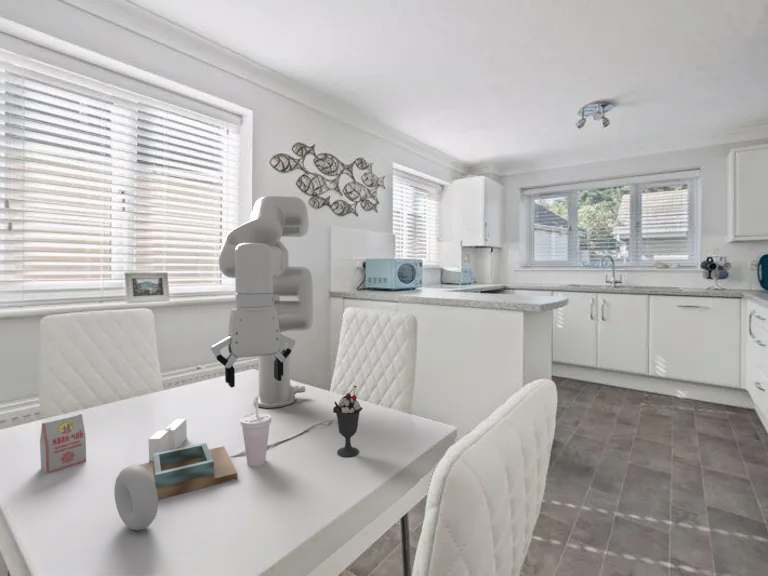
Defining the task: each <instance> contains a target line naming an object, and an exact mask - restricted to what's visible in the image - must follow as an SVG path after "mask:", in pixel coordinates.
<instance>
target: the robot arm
mask: <svg viewBox="0 0 768 576" xmlns="http://www.w3.org/2000/svg"><path fill="white" fill-rule="evenodd" d="M252 209H253V210H252V212H251V214H250V216H249V217H250V220H249V221H247V222H245V223H243V224H241V225H240V226H236V227H235V228H233V229H231V231H229V232H228V233H227V234H225V235H226V236H225V237H224V238H223V243H222V245H221V248H220V250H219V257H218V267H219V269H220V272H221V274H223V275H224V276H225V277H227V278H231V279H235V282H234V283H235V308H232V309H230V315H229V322H228V332H227V333H228V334H227V335H228V336H227V337H225V338H224V339H222V340H220V341H218V342H216V343H214V344H213V345H212V346H210V351H211V352H212V354H213V356H214V357H215V359H216V360H217V362H219V363H220V364H221V365H222V366H224V373H225V374H224V375H225V377H224V379H225V380H224V381H225V383H226V384H228V386H229V388H235V386H236V384H235V383H236V381H235V380H236V379H235V377H236V376H235V367H234V364H235V362H237V361H238V359H239V358H240V359H241V358H251V357H253V358H254V357H258V395H257V396H256V397H258V408H265V409H272V408H273V409H274V408H276V409H277V408H282V407H286V406H289V405H291V404H293V403H294V402H295V401H296V394H300V393H301V394H302V393H305V392H306V387H305V385H303V386H299V385H294V386H293V385H291V354H292V350H293V348H294V346H295V344H296V340H295V339H292V338H291V337H288V336H287V335H284V334H283V333H282V332H284V333H285V332H305V331H306V332H307V331H309V330H310V329H311V328H312V326H313V322H314V319H313V318H314V301H313V300H314V295H313V294H314V292H313V291H314V289H313V287H314V286H313V285H314V284H313V276H312V273H311V271H310V269H309V268H307V267H305V266H290V265H289V250H288V249H287V247H286V246H285V245H284V243H283V242H282V241H281V238H283V237H286V238H289V237H291V238H295V237H296V238H300V237H301V238H302V237H305V236H306V235H307V233H308V231H309V225H310V224H309V215H308V214H309V213H308V208H307V206H306V203H305V202H304V200H303V199H302V198H300V197H298V196H285V195H284V196H283V195H282V196H279V195H278V196H277V195H267V196H262V197H260V198H258V199H257V200H256V201H255V203H254V206H253V208H252ZM280 297H281V298H282V297H284V298H287V297H289V298H290V297H291V298H292V297H293V298H294V297H295V298H297V299H298V300H280ZM225 347H227V352H228V355H227V356H226V357H225V356H223V354H222V353H221V350H222V349H224V348H225ZM253 404H254V405H255V406H256V399H255V397H254V398H253Z"/></svg>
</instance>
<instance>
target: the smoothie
mask: <svg viewBox="0 0 768 576" xmlns="http://www.w3.org/2000/svg"><path fill="white" fill-rule="evenodd" d="M254 398H255V399H256V405H255V412H254V413H250V414H246V415H244V416H243V417H241V419H240V420H239V421H240V423H239V425H240V427H241V428H242V436H243V442H244V450H246V456H245V457H246V463H247V466H249V467H260V466H262V465H264V464H265V463H266V461H267V460H266V459H267V451H268V450H267V445H268V440H269V434H270V424H271V423H272V416H271V415H270V414H268V413H266V412H259V407H258V397H257V396H255V397H254Z"/></svg>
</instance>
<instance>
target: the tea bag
mask: <svg viewBox="0 0 768 576" xmlns="http://www.w3.org/2000/svg"><path fill="white" fill-rule="evenodd" d="M85 430H86V429H85V425H84V420H83V414H82V413H79V414H76V415H72V416H67V417H63V418H60V419H59V418H58V419H55V420H52V421H51V420H50V421H46V422H41V431H40V439H39V447H40V448H39V449H40V452H39V453H40V454H39V455H40V470H42V471H43V472H44V473H45V475H47V473H49V474H52V473H54V471H55V472H58V471H61V470H64V469H67V468H70V467H74V466H77V465H79V464H82V463H86V462H87V444H86V443H87V442H86V438H87V437H86V431H85ZM57 470H58V471H57ZM51 472H52V473H51Z"/></svg>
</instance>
